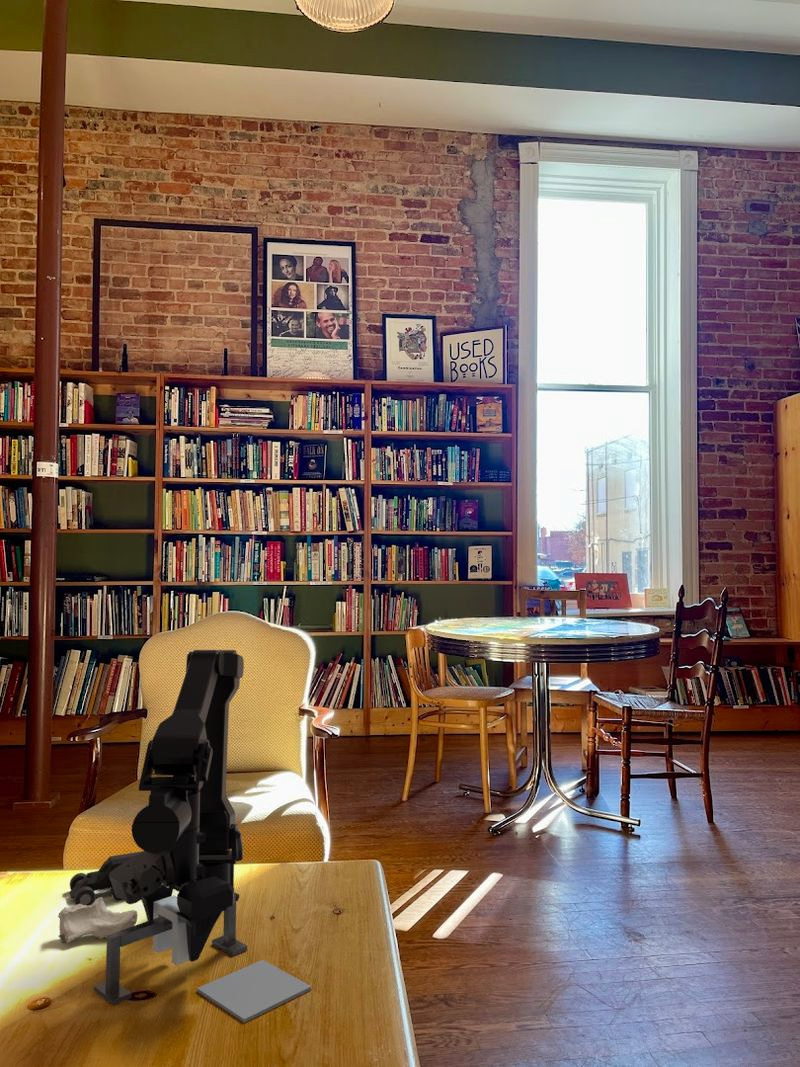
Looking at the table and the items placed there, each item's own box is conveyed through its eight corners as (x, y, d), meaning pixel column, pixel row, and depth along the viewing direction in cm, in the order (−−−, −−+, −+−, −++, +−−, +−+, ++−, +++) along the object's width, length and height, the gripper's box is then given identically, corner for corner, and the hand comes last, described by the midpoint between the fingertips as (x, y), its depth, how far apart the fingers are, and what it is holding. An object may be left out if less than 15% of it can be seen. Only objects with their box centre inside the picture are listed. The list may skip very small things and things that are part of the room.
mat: (262, 962, 102) (262, 959, 102) (311, 989, 95) (311, 986, 95) (196, 991, 95) (196, 988, 95) (244, 1022, 88) (244, 1019, 88)
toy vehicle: (171, 893, 126) (173, 838, 127) (72, 912, 119) (74, 853, 120) (161, 876, 134) (162, 824, 134) (67, 893, 126) (68, 838, 127)
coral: (138, 937, 110) (139, 905, 111) (59, 952, 106) (60, 918, 106) (132, 921, 115) (133, 891, 116) (56, 935, 111) (57, 903, 111)
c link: (173, 942, 104) (174, 895, 104) (197, 957, 100) (198, 907, 100) (152, 950, 102) (153, 901, 102) (176, 965, 98) (177, 914, 98)
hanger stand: (226, 938, 109) (227, 888, 110) (247, 950, 106) (247, 897, 106) (93, 990, 95) (95, 932, 96) (112, 1005, 92) (114, 945, 92)
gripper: (86, 826, 102) (82, 947, 101) (157, 860, 90) (154, 998, 88) (162, 808, 110) (159, 920, 109) (237, 837, 98) (235, 964, 97)
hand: (174, 948), depth 101 cm, fingers open, 9 cm apart
